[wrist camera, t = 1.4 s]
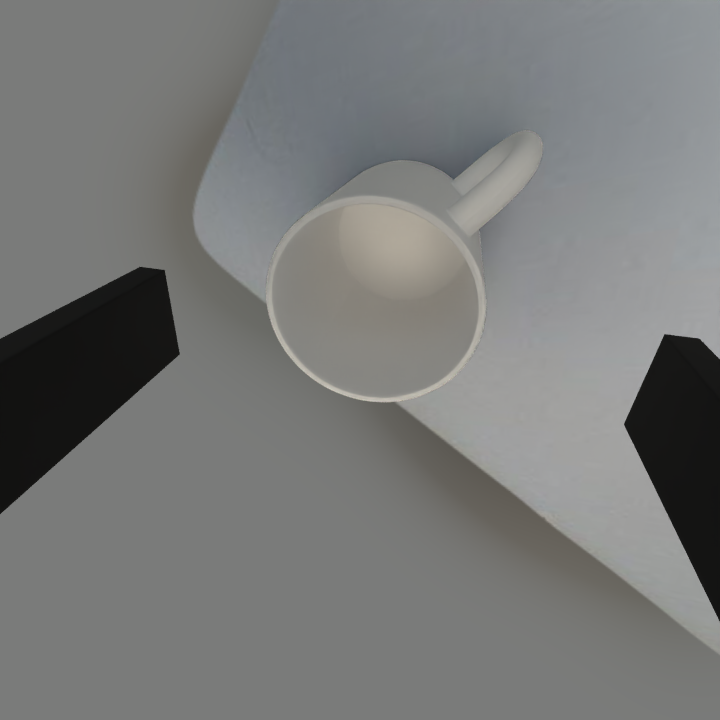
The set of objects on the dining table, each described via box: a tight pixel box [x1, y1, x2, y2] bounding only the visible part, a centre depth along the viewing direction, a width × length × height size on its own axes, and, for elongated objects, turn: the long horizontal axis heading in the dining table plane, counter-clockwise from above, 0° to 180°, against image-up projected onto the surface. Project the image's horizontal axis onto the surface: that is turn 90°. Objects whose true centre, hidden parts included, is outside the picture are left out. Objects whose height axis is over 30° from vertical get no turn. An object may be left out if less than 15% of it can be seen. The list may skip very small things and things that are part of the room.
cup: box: [266, 130, 543, 402], centre depth 20 cm, size 8×12×10 cm
